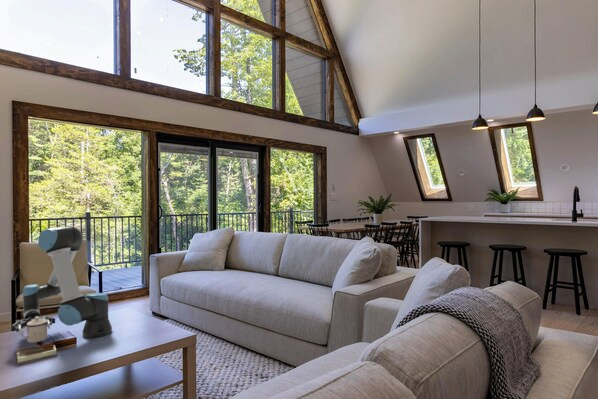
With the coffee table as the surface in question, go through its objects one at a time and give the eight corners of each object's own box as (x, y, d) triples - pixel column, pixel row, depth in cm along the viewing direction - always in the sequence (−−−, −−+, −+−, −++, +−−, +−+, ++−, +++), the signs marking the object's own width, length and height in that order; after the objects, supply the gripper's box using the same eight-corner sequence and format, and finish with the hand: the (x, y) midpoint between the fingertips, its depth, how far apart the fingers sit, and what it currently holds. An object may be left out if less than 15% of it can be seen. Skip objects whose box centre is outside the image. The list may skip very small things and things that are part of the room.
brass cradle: (17, 357, 186) (17, 353, 186) (54, 348, 195) (54, 344, 195) (17, 362, 180) (17, 358, 179) (56, 353, 189) (56, 349, 189)
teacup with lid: (42, 334, 203) (42, 313, 203) (51, 338, 198) (51, 316, 198) (16, 342, 192) (16, 319, 192) (25, 346, 188) (25, 323, 188)
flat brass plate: (16, 351, 195) (16, 349, 195) (53, 343, 205) (52, 341, 205) (17, 364, 179) (17, 362, 179) (57, 355, 189) (57, 353, 189)
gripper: (57, 319, 217) (62, 330, 200) (5, 328, 202) (5, 341, 185) (57, 306, 217) (62, 316, 200) (5, 314, 202) (5, 326, 185)
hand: (34, 328), depth 192 cm, fingers closed on teacup with lid, 11 cm apart
